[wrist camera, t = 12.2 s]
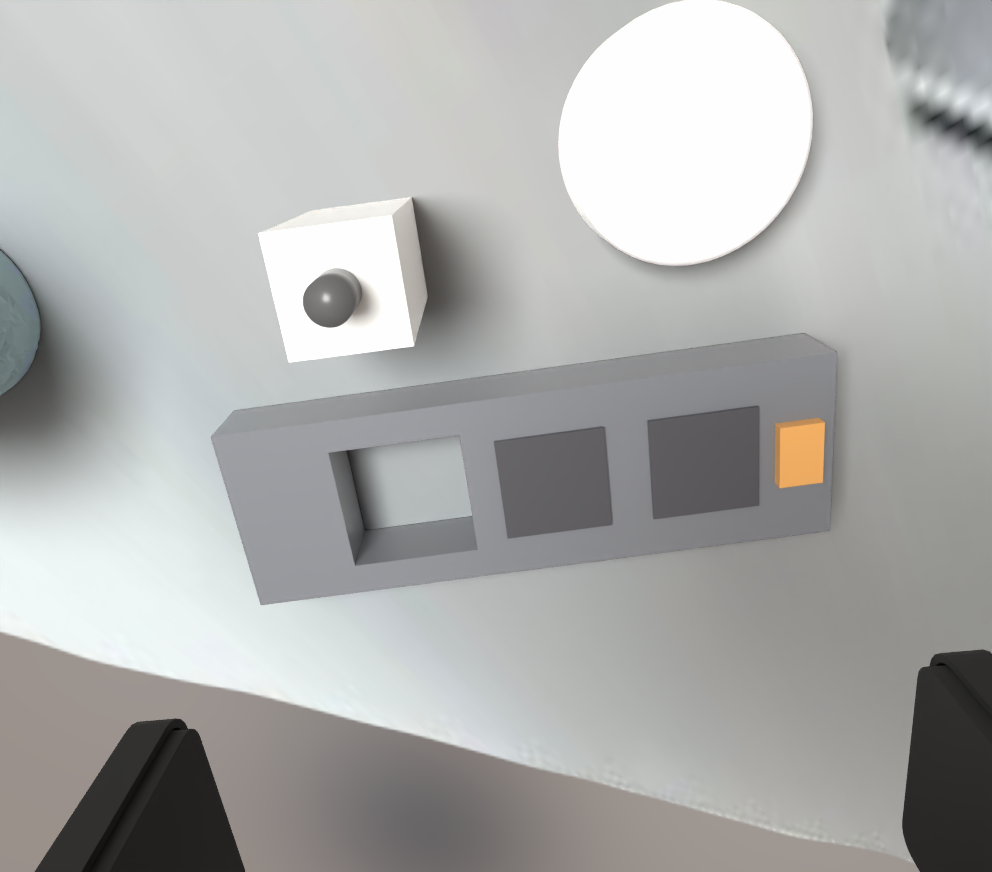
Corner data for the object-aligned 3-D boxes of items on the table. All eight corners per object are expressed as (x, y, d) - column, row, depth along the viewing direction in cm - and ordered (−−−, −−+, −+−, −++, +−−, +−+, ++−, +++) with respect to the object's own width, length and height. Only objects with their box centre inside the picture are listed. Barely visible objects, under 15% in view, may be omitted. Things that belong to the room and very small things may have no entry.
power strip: (804, 332, 36) (843, 356, 32) (800, 498, 39) (835, 537, 35) (233, 410, 36) (206, 442, 33) (278, 567, 40) (257, 612, 36)
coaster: (619, 295, 35) (634, 311, 32) (516, 95, 32) (521, 89, 29) (816, 183, 34) (853, 188, 30) (729, -40, 30) (761, -62, 27)
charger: (411, 196, 33) (385, 221, 23) (427, 296, 35) (409, 361, 24) (311, 210, 33) (240, 240, 23) (332, 309, 35) (274, 379, 25)
